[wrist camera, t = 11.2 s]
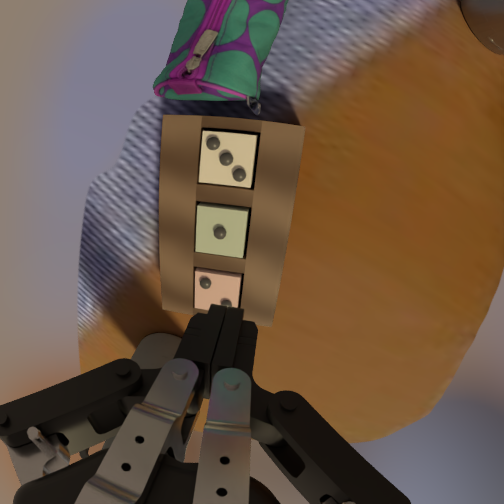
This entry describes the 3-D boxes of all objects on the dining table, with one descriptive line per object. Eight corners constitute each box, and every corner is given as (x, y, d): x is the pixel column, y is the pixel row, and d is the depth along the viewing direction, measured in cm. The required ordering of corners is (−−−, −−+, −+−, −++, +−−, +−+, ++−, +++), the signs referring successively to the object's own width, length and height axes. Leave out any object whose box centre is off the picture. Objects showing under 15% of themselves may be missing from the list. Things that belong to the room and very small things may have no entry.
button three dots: (209, 130, 24) (201, 131, 21) (258, 134, 24) (256, 135, 21) (205, 176, 26) (197, 182, 23) (252, 182, 26) (250, 188, 23)
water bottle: (131, 325, 37) (37, 496, 12) (196, 329, 36) (125, 539, 11) (151, 373, 41) (90, 524, 16) (208, 379, 40) (166, 552, 15)
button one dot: (204, 198, 27) (196, 206, 24) (250, 204, 27) (247, 212, 24) (201, 241, 29) (194, 252, 26) (245, 247, 28) (242, 259, 26)
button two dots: (201, 259, 30) (194, 272, 27) (243, 265, 29) (240, 279, 27) (200, 294, 31) (194, 309, 29) (239, 300, 31) (236, 316, 29)
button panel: (178, 115, 25) (163, 114, 22) (301, 127, 25) (305, 126, 21) (173, 290, 34) (162, 309, 30) (272, 305, 33) (271, 326, 30)
